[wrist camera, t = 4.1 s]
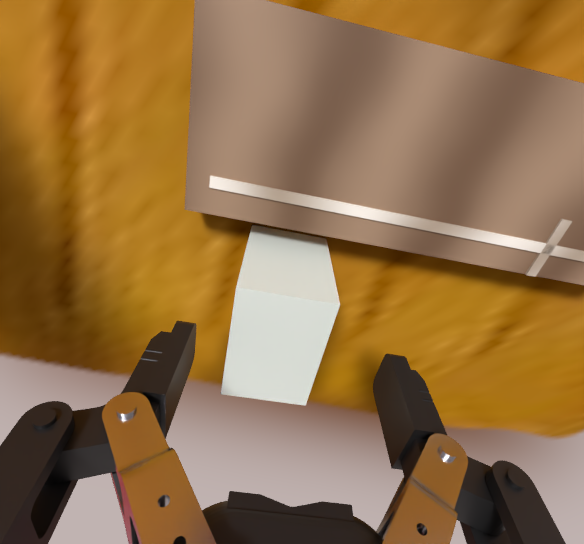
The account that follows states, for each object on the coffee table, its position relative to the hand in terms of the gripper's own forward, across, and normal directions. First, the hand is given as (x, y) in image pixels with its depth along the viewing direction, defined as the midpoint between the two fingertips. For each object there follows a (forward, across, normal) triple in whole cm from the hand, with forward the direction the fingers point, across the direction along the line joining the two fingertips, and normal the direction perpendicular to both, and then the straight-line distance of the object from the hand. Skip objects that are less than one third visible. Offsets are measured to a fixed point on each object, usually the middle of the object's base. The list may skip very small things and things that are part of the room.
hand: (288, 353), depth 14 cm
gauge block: (+6, +1, 0) cm, 6 cm away
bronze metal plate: (+6, -6, -8) cm, 11 cm away
